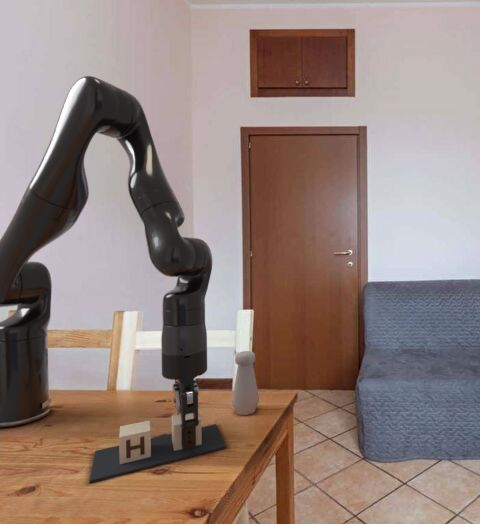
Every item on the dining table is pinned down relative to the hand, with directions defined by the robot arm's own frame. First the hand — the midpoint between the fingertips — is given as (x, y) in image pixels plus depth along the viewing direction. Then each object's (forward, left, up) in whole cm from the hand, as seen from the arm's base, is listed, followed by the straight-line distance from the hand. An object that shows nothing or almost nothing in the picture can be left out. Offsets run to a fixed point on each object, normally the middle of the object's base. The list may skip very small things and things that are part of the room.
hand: (186, 437), depth 67 cm
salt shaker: (+13, +9, -1) cm, 16 cm away
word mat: (-4, 0, -1) cm, 4 cm away
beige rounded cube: (-8, 0, -1) cm, 8 cm away
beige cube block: (0, 0, -1) cm, 1 cm away
